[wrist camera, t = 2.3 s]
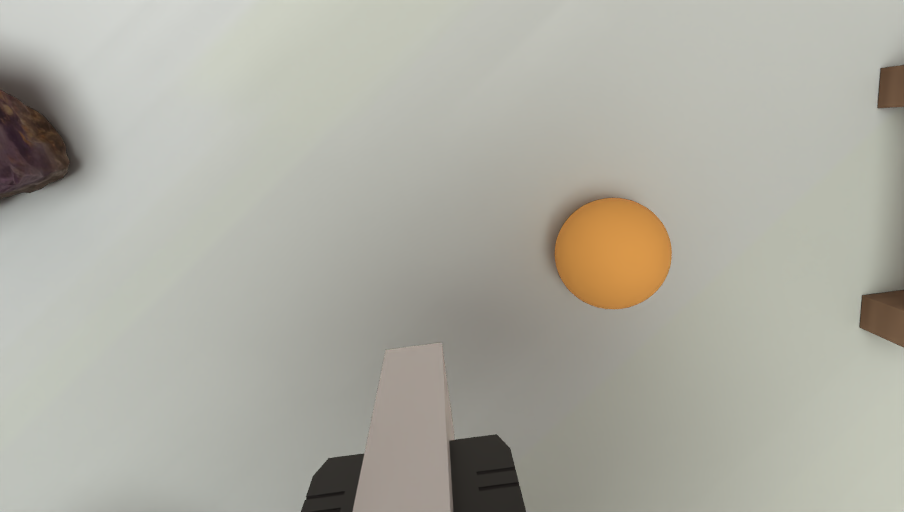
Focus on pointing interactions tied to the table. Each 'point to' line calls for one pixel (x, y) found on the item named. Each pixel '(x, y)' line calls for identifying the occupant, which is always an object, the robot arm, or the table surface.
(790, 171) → the table surface
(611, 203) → the ball
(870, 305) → the bridge
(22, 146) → the rock
